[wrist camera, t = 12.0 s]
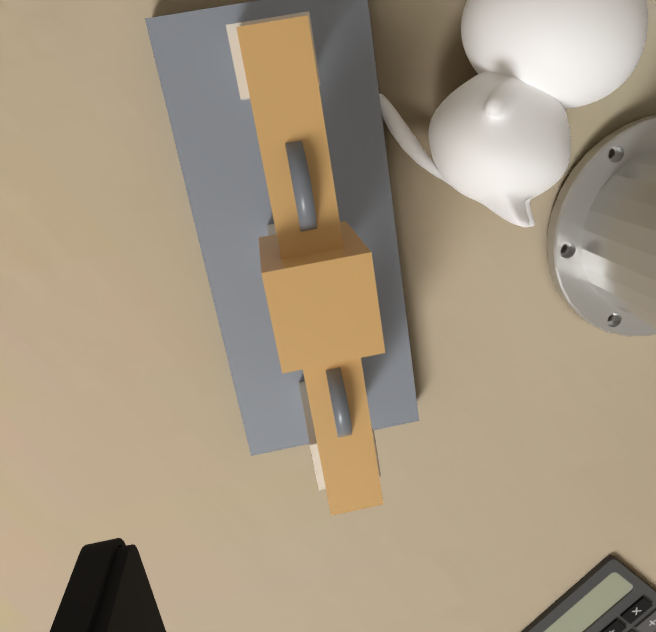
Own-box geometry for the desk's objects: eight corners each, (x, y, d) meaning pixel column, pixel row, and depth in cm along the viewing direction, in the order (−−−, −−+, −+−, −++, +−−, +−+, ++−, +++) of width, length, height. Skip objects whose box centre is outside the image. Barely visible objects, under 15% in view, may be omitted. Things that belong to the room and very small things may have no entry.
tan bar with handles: (316, 27, 24) (337, 4, 18) (379, 445, 31) (408, 520, 26) (218, 43, 24) (209, 25, 18) (304, 461, 31) (317, 541, 25)
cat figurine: (542, 240, 24) (707, -88, 20) (318, 145, 27) (425, -152, 23) (555, 234, 32) (675, -2, 28) (381, 161, 35) (468, -59, 31)
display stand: (359, -12, 28) (399, -53, 21) (412, 408, 36) (454, 487, 29) (150, 22, 28) (113, -7, 20) (251, 442, 36) (251, 531, 28)
